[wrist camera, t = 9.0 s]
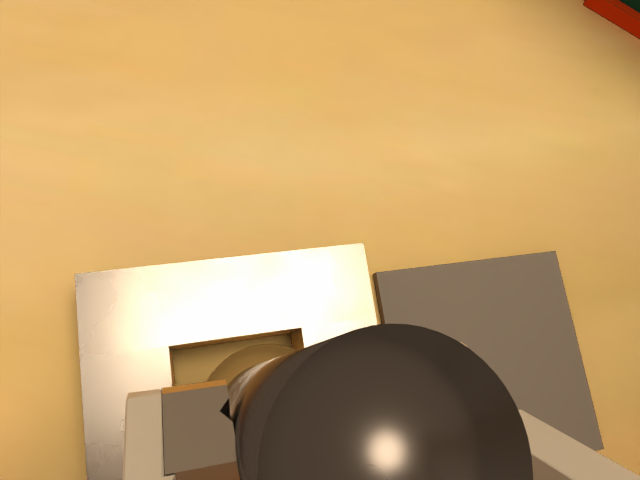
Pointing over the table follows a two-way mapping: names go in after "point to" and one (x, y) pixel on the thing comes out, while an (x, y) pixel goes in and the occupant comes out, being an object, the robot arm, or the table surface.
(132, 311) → the grey square frame
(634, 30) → the power tool
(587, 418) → the grey square plate
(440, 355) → the dark grey peg
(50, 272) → the table surface
